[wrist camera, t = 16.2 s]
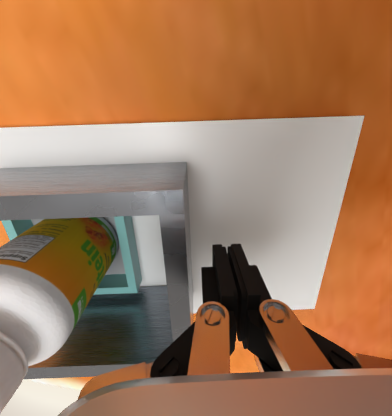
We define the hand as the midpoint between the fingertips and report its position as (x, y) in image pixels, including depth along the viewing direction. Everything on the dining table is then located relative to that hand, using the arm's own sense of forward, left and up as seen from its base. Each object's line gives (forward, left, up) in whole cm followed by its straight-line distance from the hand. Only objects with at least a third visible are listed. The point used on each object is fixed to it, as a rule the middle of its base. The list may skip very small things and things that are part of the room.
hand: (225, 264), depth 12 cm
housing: (+8, 0, -3) cm, 9 cm away
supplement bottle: (+10, 0, -4) cm, 11 cm away
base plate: (+3, 0, -5) cm, 6 cm away
